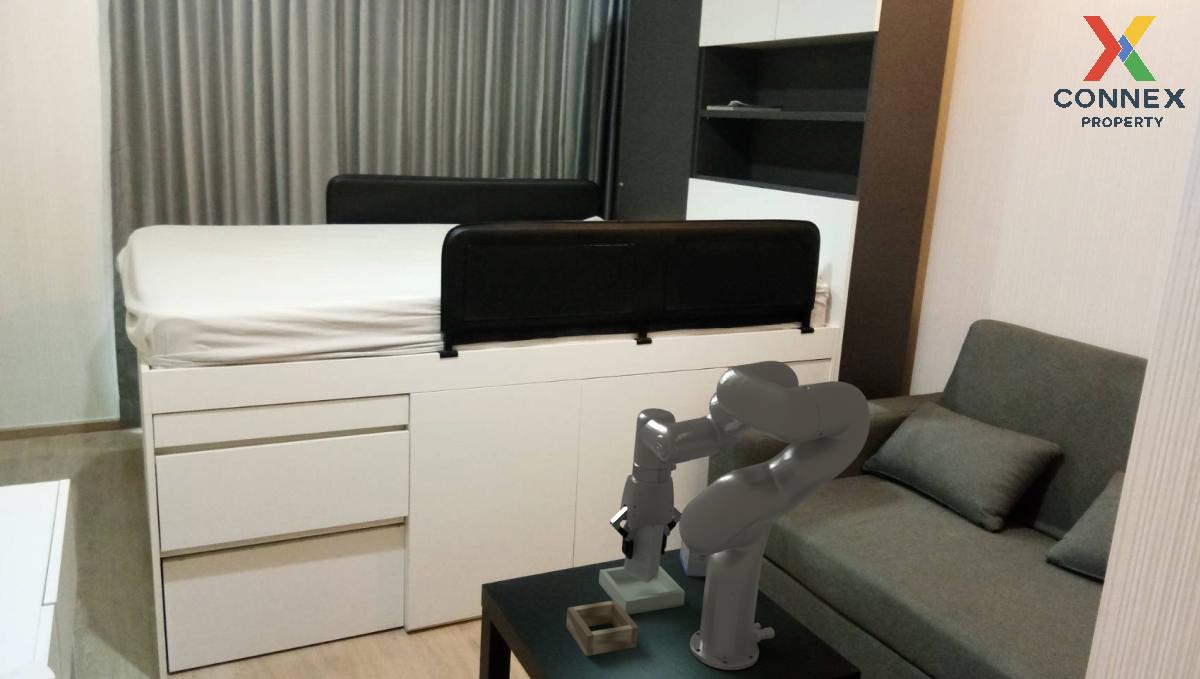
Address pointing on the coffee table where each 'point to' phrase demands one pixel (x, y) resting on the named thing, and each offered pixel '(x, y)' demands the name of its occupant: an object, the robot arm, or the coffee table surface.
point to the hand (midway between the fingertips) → (643, 553)
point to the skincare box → (645, 553)
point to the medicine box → (693, 562)
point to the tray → (641, 591)
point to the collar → (601, 639)
